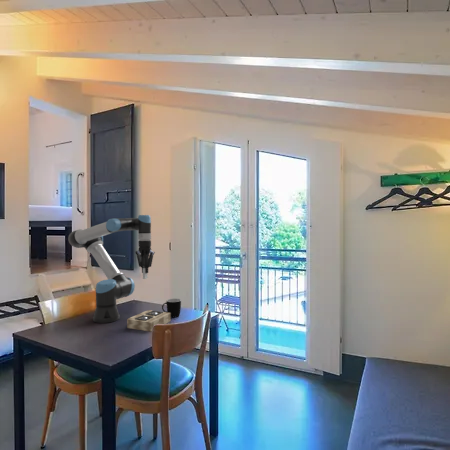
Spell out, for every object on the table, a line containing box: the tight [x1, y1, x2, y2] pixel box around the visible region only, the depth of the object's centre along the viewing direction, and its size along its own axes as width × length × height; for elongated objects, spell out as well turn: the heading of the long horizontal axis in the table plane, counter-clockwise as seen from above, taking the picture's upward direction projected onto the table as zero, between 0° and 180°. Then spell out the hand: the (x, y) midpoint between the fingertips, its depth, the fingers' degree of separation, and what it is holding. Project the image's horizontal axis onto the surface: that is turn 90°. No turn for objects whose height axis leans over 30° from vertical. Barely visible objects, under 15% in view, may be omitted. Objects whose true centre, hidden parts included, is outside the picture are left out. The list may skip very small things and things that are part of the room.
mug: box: [161, 298, 182, 319], centre depth 220 cm, size 12×9×10 cm
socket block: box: [126, 309, 172, 333], centre depth 204 cm, size 16×20×5 cm
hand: (145, 278), depth 216 cm, fingers closed
